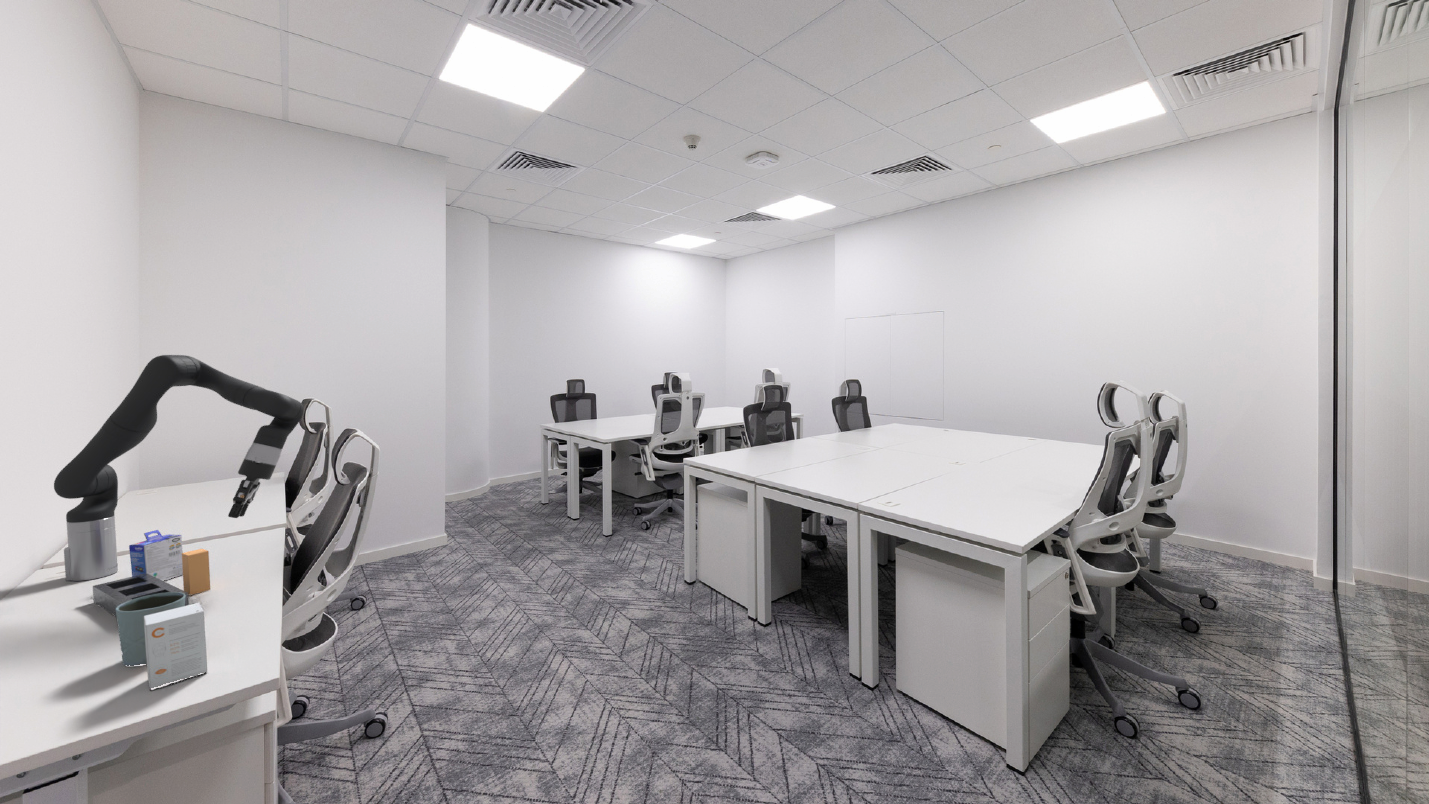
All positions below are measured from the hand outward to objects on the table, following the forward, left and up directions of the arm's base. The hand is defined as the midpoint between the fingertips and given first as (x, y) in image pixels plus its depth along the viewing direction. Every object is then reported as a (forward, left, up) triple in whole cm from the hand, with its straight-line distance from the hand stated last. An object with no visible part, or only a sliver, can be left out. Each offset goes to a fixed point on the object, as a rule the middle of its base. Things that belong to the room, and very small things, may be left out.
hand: (235, 516), depth 149 cm
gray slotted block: (-17, -8, -20) cm, 27 cm away
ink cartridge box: (-23, +13, -20) cm, 34 cm away
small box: (+10, -53, -20) cm, 57 cm away
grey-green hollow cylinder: (+1, -41, -20) cm, 45 cm away
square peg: (-9, 0, -20) cm, 22 cm away
